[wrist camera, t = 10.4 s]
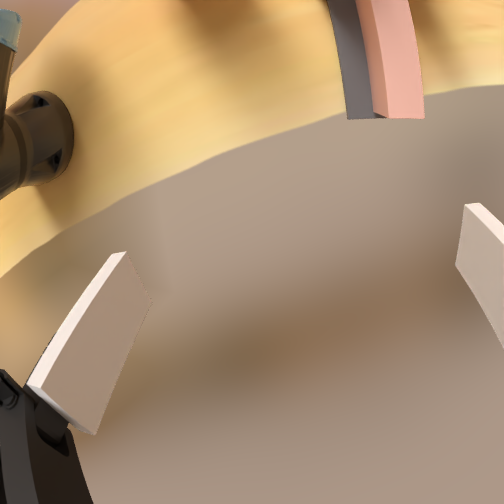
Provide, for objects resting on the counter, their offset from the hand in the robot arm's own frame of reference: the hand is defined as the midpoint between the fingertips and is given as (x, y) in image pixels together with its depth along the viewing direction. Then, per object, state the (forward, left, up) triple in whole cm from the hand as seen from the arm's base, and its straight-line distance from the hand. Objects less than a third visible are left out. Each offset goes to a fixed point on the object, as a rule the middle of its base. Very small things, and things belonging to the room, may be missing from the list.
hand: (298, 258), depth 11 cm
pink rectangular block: (+12, +9, -26) cm, 30 cm away
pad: (+10, +9, -27) cm, 30 cm away
